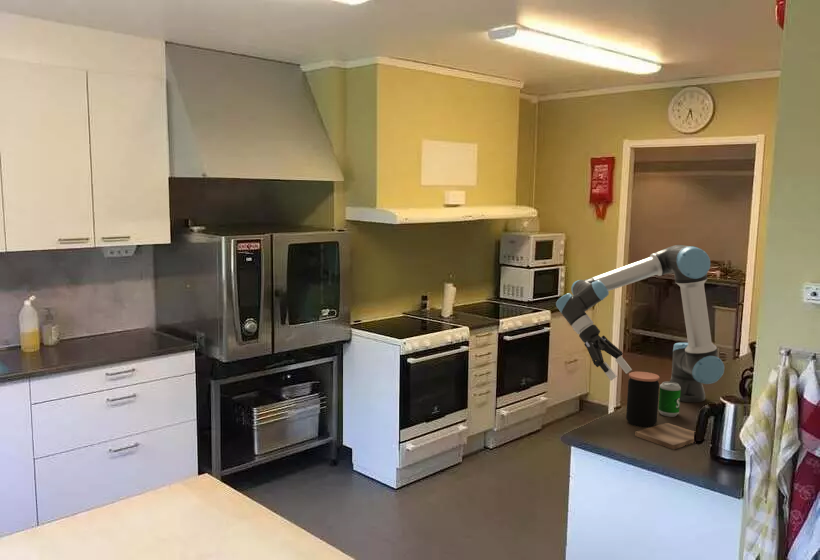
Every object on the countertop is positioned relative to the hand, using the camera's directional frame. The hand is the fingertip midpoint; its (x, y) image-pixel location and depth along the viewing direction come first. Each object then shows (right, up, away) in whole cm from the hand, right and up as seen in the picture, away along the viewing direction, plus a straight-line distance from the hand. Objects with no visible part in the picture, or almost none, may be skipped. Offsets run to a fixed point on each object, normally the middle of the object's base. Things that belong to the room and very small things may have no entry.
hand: (621, 375), depth 249 cm
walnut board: (+11, -19, -18) cm, 28 cm away
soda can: (+20, -16, +8) cm, 27 cm away
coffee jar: (+6, -17, -3) cm, 19 cm away
